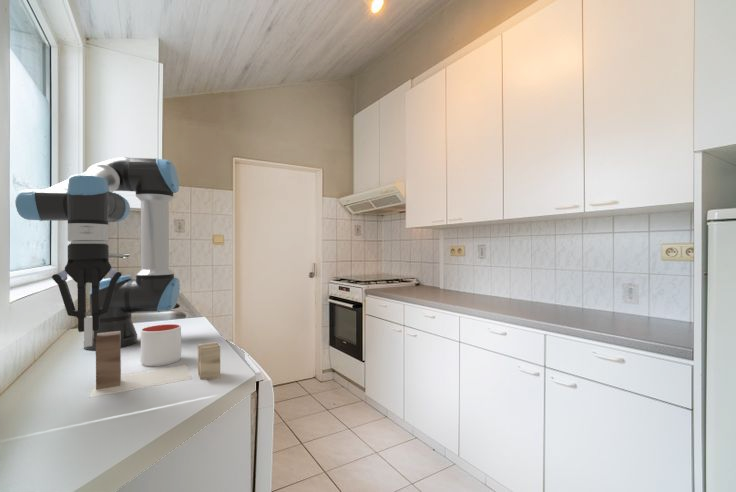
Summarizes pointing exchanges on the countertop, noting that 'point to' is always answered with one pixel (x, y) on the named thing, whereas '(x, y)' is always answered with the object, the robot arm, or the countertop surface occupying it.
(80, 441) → the countertop surface
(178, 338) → the cup
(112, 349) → the walnut block
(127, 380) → the board
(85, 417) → the countertop surface
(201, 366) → the beech block
